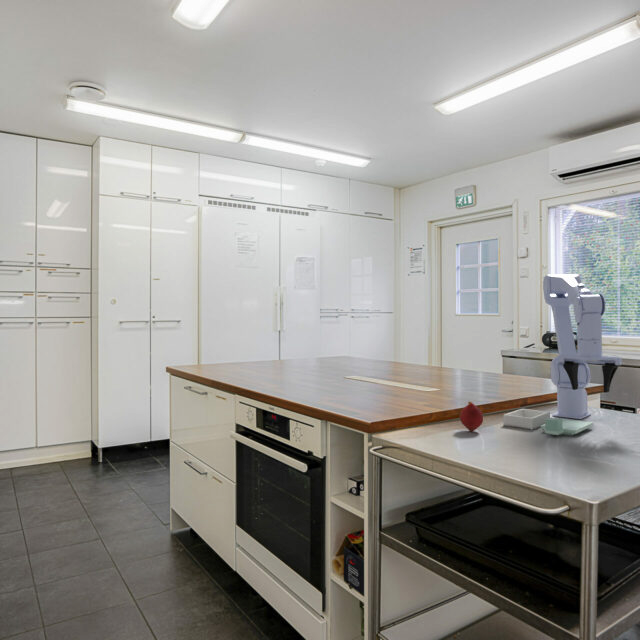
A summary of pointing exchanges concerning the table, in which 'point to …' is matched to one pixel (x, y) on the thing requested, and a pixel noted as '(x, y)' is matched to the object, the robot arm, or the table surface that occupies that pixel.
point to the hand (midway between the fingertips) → (590, 390)
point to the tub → (525, 418)
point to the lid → (564, 426)
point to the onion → (471, 416)
